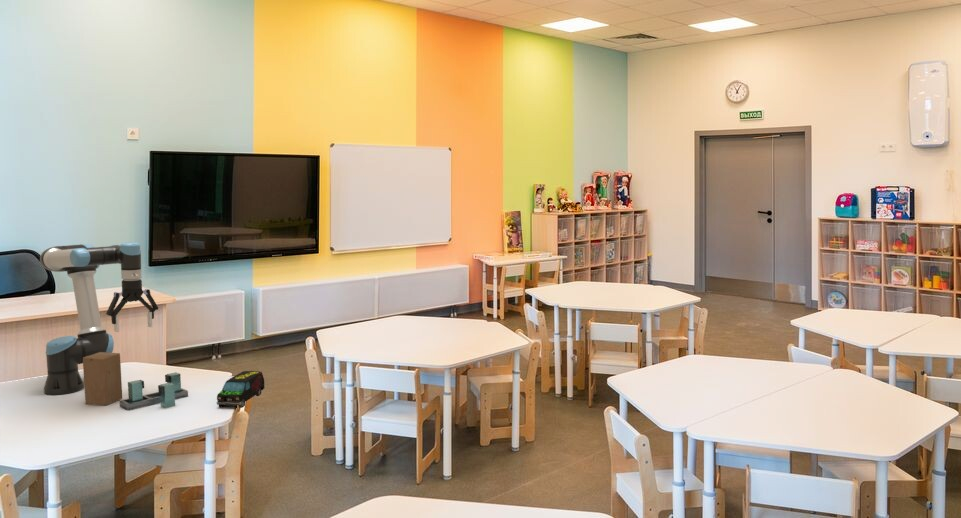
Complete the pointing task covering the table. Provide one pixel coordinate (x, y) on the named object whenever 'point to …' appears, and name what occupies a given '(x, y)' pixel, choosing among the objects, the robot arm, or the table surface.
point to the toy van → (241, 388)
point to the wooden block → (102, 378)
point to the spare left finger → (167, 394)
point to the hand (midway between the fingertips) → (133, 329)
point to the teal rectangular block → (135, 391)
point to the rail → (157, 394)
